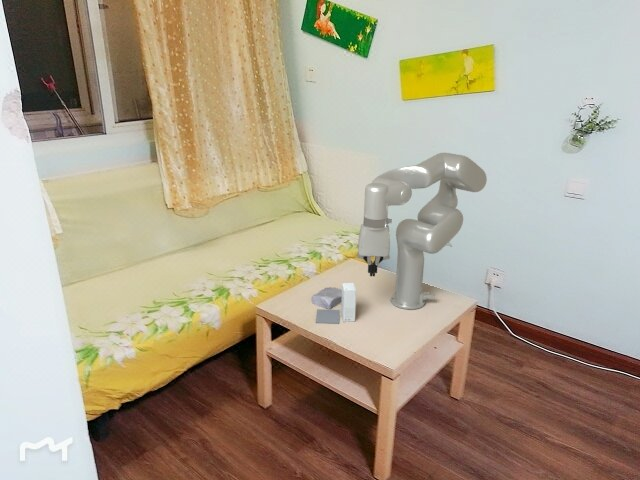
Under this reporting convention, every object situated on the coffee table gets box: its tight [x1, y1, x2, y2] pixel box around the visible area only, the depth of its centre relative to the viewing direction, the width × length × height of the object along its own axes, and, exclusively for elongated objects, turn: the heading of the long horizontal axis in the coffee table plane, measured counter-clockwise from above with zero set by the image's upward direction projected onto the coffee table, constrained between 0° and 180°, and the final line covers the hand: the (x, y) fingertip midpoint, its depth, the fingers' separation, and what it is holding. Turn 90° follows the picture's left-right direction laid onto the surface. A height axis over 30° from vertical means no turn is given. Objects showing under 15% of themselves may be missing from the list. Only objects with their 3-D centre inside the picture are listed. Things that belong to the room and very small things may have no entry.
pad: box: [315, 308, 341, 325], centre depth 161 cm, size 8×9×1 cm
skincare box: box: [340, 282, 357, 323], centre depth 159 cm, size 6×4×12 cm
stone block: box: [311, 286, 342, 310], centre depth 172 cm, size 12×5×10 cm
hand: (372, 274), depth 154 cm, fingers closed
